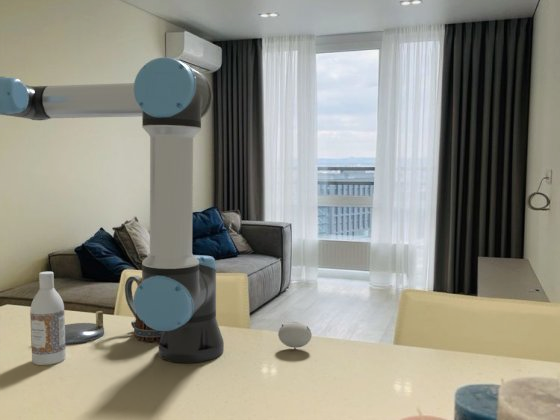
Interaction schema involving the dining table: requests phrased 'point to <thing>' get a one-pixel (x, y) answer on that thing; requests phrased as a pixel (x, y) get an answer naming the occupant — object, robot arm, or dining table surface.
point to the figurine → (294, 334)
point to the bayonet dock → (84, 331)
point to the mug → (139, 326)
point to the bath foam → (47, 323)
